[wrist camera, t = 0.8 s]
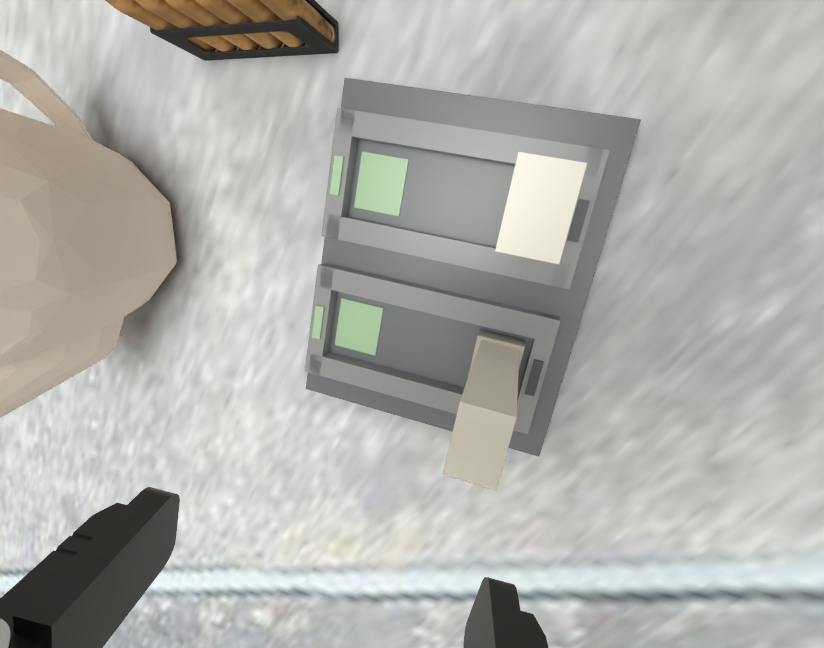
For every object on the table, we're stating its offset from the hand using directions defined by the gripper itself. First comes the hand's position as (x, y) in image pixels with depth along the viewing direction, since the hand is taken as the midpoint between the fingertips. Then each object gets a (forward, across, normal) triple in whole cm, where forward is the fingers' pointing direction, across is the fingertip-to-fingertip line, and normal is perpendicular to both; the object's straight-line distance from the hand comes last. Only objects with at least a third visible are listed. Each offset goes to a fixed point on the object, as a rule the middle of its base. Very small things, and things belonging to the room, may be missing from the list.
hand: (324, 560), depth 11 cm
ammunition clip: (+26, +14, -16) cm, 33 cm away
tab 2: (+19, -6, -10) cm, 22 cm away
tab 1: (+19, -7, 0) cm, 20 cm away
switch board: (+22, -2, -4) cm, 23 cm away
